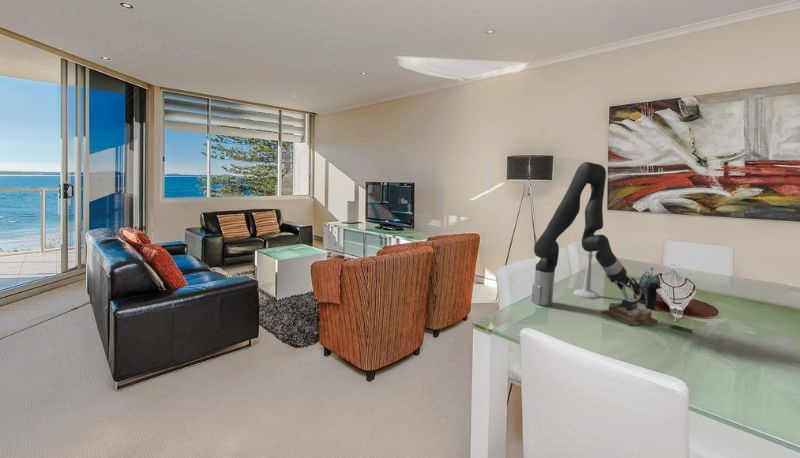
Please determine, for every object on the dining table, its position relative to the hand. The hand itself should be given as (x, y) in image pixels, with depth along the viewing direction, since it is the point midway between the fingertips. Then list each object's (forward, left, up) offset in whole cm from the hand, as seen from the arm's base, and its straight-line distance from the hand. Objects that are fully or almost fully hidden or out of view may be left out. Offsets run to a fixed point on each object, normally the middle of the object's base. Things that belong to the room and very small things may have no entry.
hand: (630, 291), depth 174 cm
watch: (+1, 0, -8) cm, 8 cm away
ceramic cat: (+26, +13, -13) cm, 32 cm away
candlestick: (+7, +33, -13) cm, 36 cm away
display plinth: (+1, 0, -13) cm, 13 cm away
